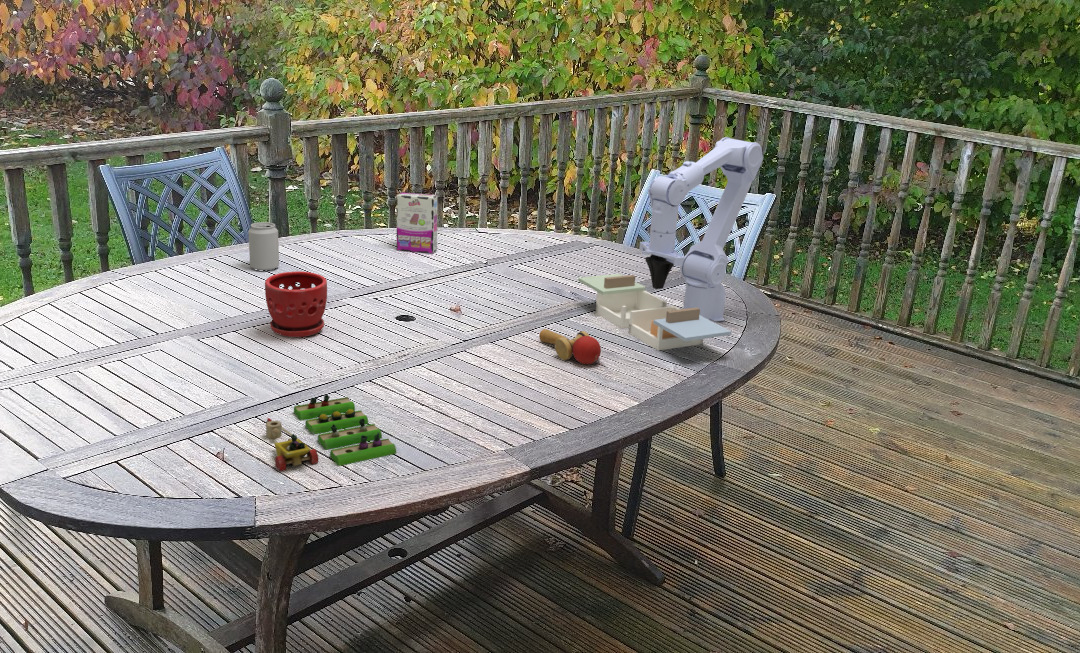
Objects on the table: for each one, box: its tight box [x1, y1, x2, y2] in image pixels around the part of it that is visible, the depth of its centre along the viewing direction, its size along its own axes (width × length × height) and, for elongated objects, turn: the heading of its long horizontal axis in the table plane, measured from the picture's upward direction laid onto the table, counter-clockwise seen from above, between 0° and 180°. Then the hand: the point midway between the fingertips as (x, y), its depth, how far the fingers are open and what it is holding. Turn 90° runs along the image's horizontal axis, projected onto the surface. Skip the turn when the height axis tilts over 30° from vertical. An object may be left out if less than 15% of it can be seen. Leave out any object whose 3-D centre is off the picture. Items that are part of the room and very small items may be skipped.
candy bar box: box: [395, 192, 439, 254], centre depth 281 cm, size 11×5×16 cm, turn 81°
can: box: [247, 221, 280, 271], centre depth 256 cm, size 8×8×12 cm
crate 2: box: [628, 305, 704, 351], centre depth 219 cm, size 12×12×6 cm
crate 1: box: [594, 289, 668, 329], centre depth 232 cm, size 12×12×6 cm
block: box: [650, 320, 676, 339], centre depth 217 cm, size 4×4×4 cm
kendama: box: [538, 328, 602, 365], centre depth 209 cm, size 8×6×18 cm
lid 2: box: [653, 307, 732, 341], centre depth 210 cm, size 12×12×3 cm
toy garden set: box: [265, 394, 397, 472], centre depth 165 cm, size 23×19×5 cm
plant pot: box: [264, 270, 328, 338], centre depth 212 cm, size 13×13×12 cm
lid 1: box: [577, 273, 646, 295], centre depth 238 cm, size 12×12×3 cm
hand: (657, 288), depth 224 cm, fingers closed
